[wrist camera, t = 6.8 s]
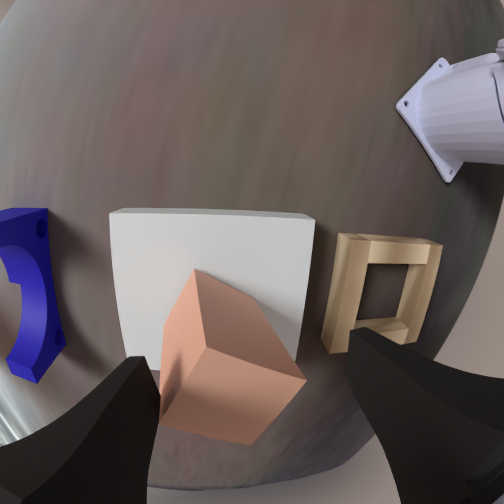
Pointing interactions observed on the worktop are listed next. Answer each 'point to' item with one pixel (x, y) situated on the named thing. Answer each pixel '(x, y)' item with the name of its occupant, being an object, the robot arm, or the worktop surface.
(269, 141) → the worktop surface
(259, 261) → the platform
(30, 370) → the cable clip
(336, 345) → the socket
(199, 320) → the block
